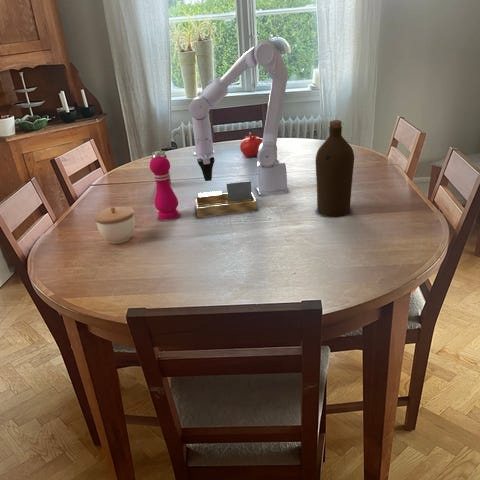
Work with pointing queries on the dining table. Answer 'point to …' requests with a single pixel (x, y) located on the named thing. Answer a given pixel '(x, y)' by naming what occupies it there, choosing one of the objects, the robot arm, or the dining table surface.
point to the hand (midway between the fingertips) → (208, 180)
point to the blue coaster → (239, 191)
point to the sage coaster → (210, 193)
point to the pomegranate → (250, 146)
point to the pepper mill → (163, 188)
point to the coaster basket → (222, 205)
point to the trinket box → (116, 224)
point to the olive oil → (334, 173)
